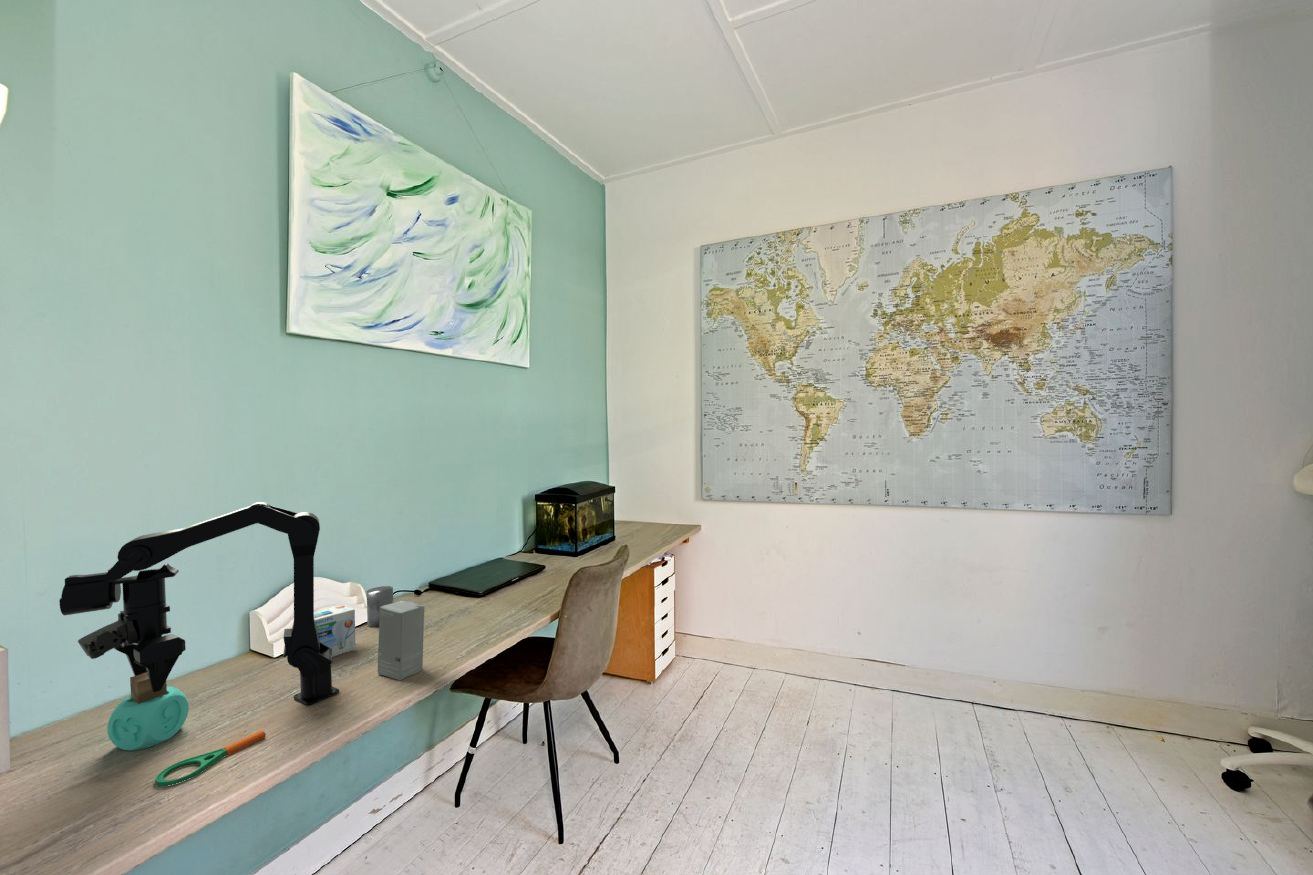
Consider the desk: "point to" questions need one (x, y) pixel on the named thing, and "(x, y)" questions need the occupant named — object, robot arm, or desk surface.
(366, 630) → the desk surface
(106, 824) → the desk surface
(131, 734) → the decorative dice
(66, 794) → the desk surface
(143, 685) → the walnut cube
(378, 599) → the grey rounded block
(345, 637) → the light bulb box
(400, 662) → the skincare box
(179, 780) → the magnifying glass
